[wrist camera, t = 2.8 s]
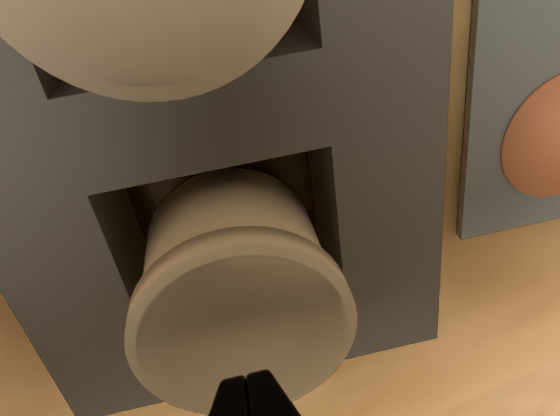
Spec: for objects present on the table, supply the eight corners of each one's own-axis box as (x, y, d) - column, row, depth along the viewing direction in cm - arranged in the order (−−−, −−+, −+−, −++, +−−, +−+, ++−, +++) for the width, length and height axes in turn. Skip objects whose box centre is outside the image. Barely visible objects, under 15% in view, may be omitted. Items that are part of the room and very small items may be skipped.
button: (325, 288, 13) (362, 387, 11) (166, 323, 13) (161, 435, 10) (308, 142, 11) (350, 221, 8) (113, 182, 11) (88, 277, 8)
